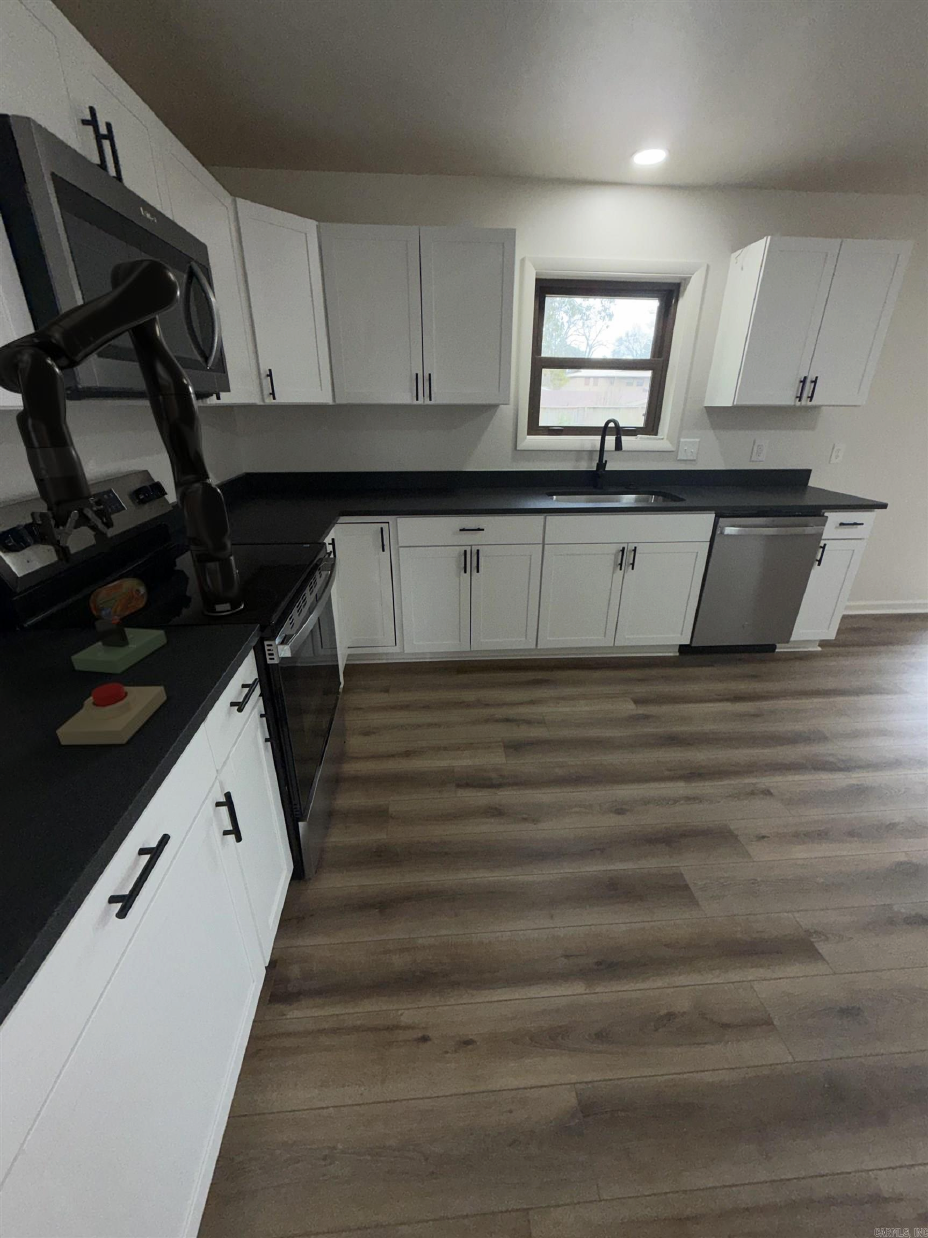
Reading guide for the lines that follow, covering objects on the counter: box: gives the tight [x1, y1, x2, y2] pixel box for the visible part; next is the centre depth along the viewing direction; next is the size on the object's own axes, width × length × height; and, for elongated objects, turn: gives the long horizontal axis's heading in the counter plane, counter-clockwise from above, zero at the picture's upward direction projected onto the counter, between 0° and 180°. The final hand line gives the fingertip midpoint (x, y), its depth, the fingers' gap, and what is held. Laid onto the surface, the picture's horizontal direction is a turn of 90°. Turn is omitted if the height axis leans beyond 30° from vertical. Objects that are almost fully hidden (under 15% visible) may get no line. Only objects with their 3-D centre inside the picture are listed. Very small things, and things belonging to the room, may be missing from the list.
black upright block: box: [94, 619, 129, 647], centre depth 103 cm, size 5×2×6 cm, turn 81°
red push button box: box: [55, 685, 168, 746], centre depth 84 cm, size 13×10×4 cm
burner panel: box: [70, 627, 168, 674], centre depth 106 cm, size 14×10×3 cm
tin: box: [89, 577, 148, 620], centre depth 125 cm, size 15×3×8 cm, turn 168°
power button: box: [91, 682, 126, 707], centre depth 83 cm, size 4×4×2 cm
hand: (87, 558), depth 96 cm, fingers open, 8 cm apart
